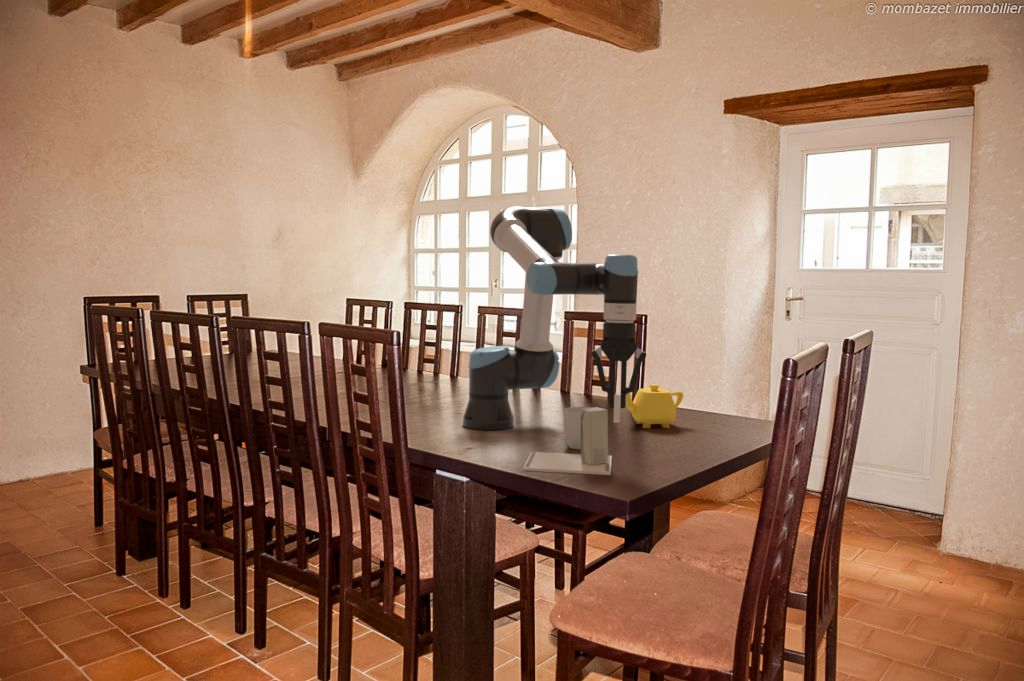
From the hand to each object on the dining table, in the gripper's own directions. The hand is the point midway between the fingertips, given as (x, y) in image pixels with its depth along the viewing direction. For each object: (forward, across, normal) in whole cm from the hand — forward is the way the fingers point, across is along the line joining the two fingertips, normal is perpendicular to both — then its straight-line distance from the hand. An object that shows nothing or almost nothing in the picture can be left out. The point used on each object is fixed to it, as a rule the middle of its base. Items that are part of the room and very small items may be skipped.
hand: (616, 421), depth 175 cm
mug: (+11, -10, +20) cm, 25 cm away
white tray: (+11, -11, 0) cm, 15 cm away
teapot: (+11, +10, +52) cm, 54 cm away
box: (+10, -5, 0) cm, 11 cm away
